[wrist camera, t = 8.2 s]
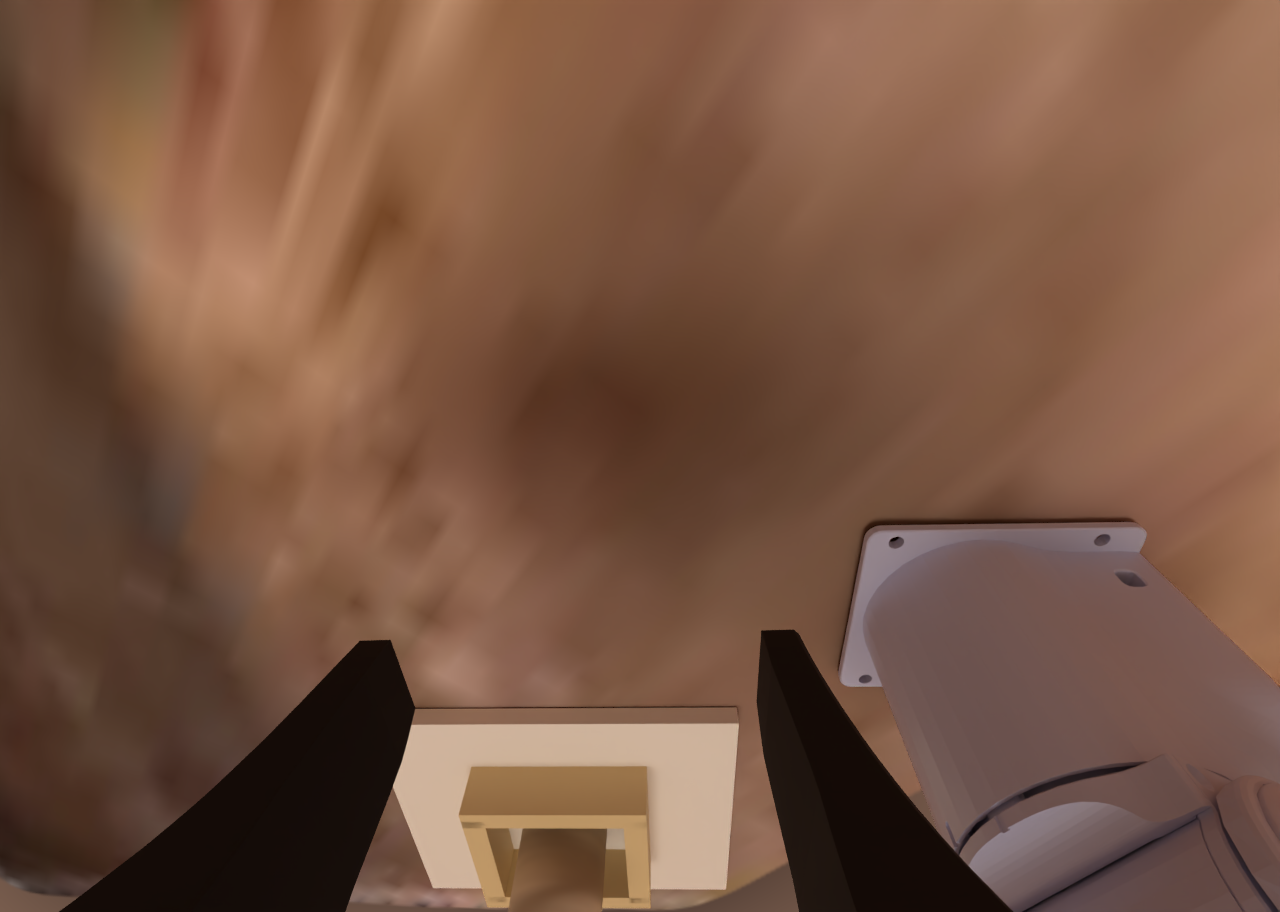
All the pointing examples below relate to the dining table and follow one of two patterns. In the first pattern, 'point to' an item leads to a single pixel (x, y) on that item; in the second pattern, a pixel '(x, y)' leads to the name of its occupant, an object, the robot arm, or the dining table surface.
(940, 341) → the dining table surface
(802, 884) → the robot arm
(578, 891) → the birch peg
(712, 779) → the socket plate
